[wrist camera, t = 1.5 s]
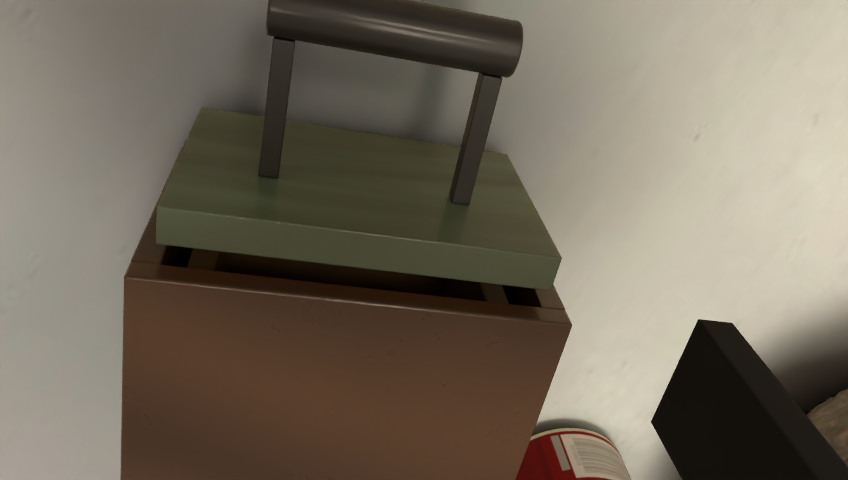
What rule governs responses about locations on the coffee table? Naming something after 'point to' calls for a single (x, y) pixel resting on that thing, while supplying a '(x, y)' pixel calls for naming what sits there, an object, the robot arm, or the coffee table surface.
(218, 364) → the cabinet
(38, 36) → the coffee table surface
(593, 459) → the soda can
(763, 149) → the coffee table surface
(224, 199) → the drawer
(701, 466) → the robot arm
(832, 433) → the bowl
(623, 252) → the coffee table surface
